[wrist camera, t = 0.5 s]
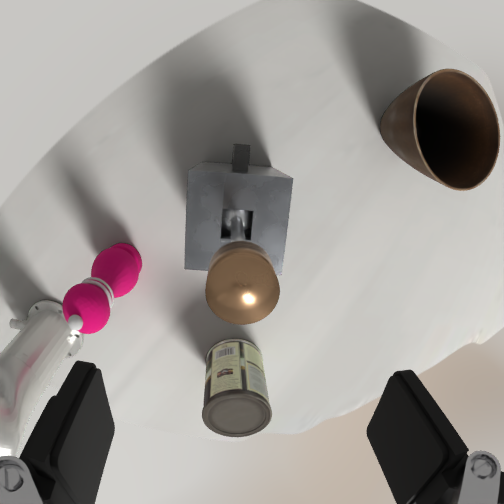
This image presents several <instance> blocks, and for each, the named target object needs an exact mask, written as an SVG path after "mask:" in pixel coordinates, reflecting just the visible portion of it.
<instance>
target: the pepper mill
mask: <svg viewBox="0 0 504 504" xmlns="http://www.w3.org/2000/svg"><path fill="white" fill-rule="evenodd" d="M141 267H142V260H141V257H140V254H139V253H138V251H137V250H136V249H135V248H134V247H132V246H131V245H129V244H126V243H118V244H115V245H113V246H112V247H111V248H108V249H105V250H103V251H102V252H101V253H100V254H99V255H98V256H97V257H96V259H95V260H94V263H93V266H92V270H91V277H90V278H87V279H85V280H84V281H83V282H82V283H81V284H77V285H75V286H73V287H72V288H71V289H69V290H68V292H67V293H66V295H65V297H64V300H63V305H62V309H63V314H64V317H65V319H66V321H67V323H68V325H69V327H70V328H71V329H72V330H74V331H78V332H80V333H84V334H91V333H95V332H98V331H99V330H101V329H102V328H103V327H104V326H105V325H106V323H107V321H108V319H109V316H110V309H111V308H112V306H113V303H114V298H117V297H121V296H123V295H125V294H127V293H128V292H130V291H131V290H132V289H133V287H134V286H135V285H136V283H137V280H138V276H139V273H140V271H141Z"/></svg>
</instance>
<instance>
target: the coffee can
mask: <svg viewBox="0 0 504 504" xmlns="http://www.w3.org/2000/svg"><path fill="white" fill-rule="evenodd" d="M206 363H207V364H206V377H205V392H204V407H203V411H202V418H203V421H204V423H205V425H206V426H207V427H208V428H209V429H210V430H212V431H214V432H215V433H218V434H220V435H224V436H229V437H244V436H249V435H252V434H255V433H257V432H259V431H261V430H263V429H264V428H265V427H266V426H267V425H268V424H269V422H270V420H271V418H272V411H271V407H270V404H269V398H268V392H267V386H266V380H265V374H264V368H263V358H262V354H261V352H260V350H259V349H258V348H257V347H256V346H255V345H254V344H252V343H250V342H248V341H246V340H242V339H228V340H224V341H221V342H219V343H217V344H215V345H214V346H213V347H212V348H211V349H210V350H209V352H208V354H207V358H206Z"/></svg>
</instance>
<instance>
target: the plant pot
mask: <svg viewBox="0 0 504 504" xmlns="http://www.w3.org/2000/svg"><path fill="white" fill-rule="evenodd" d="M380 131H381V135H382V138H383V140H384V141H385V143H386V144H387V145H388V147H389V148H390V149H391V150H392V151H393V152H394V153H395V154H396V155H397V156H398V157H400V158H401V159H402V160H403V161H405V162H406V163H407V164H409V165H410V166H411V167H413V168H414V169H416V170H417V171H419V172H421V173H422V174H424V175H426V176H427V177H429V178H431V179H433V180H435V181H437V182H439V183H441V184H443V185H445V186H446V187H448V188H451V189H454V190H459V191H465V190H470V189H473V188H475V187H477V186H479V185H480V184H481V183H483V182H484V181H485V180H486V179H487V177H488V176H489V175H490V173H491V172H492V170H493V168H494V166H495V163H496V160H497V157H498V153H499V146H500V129H499V123H498V118H497V114H496V111H495V108H494V106H493V104H492V101H491V99H490V98H489V96H488V94H487V93H486V91H485V90H484V89H483V87H482V86H481V85H480V84H479V83H478V82H477V81H476V80H475V79H474V78H473V77H471V76H470V75H468V74H466V73H464V72H462V71H459V70H456V69H442V70H439V71H436V72H434V73H432V74H430V75H428V76H427V77H425V78H423V79H421V80H419V81H418V82H416V83H415V84H413V85H412V86H410V87H409V88H408V89H406V90H405V91H404V92H402V93H401V94H400V95H399V96H398V97H397V98H396V99H395V100H394V101H393V102H392V103H391V105H390V106H389V107H388V108H387V110H386V111H385V113H384V115H383V117H382V119H381V123H380Z"/></svg>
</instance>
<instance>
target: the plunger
mask: <svg viewBox="0 0 504 504" xmlns="http://www.w3.org/2000/svg"><path fill="white" fill-rule="evenodd" d="M252 213H253V211H250V210H236V209H223V210H222V225H221V236H231V242H230V243H228V244H226V245H224V246H222V247H221V248H219V249H218V250H217V251H216V252H215V254H214V255H213V257H212V259H211V261H210V264H209V269H208V276H207V282H206V289H205V294H206V300H207V303H208V305H209V307H210V308H211V310H212V311H213V312H214V313H215V314H216V315H217V316H218V317H219V318H221V319H222V320H224V321H226V322H229V323H233V324H240V325H244V324H251V323H255V322H257V321H260V320H262V319H263V318H265V317H266V316H267V315H269V314H270V313H271V312H272V311H273V309H274V308H275V306H276V304H277V302H278V299H279V295H280V287H279V282H278V279H277V276H276V273H275V270H274V267H273V264H272V262H271V259H270V257H269V255H268V254H267V253H266V251H265V250H264V249H263V248H261V247H260V246H258V245H257V244H254V243H252V242H248V241H246V240H245V237H249V238H250V235H251V224H252Z"/></svg>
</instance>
